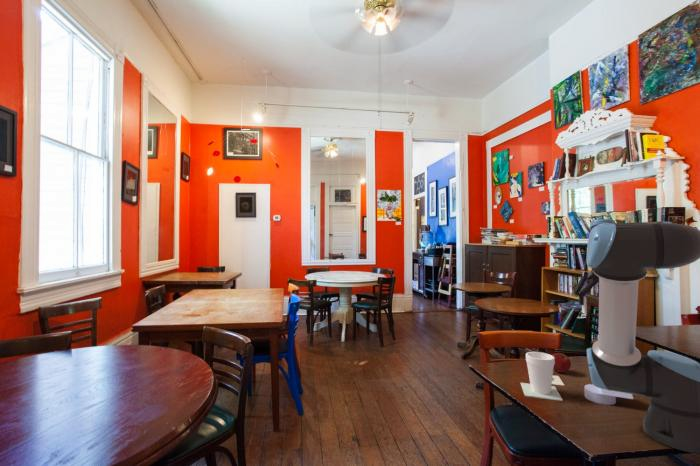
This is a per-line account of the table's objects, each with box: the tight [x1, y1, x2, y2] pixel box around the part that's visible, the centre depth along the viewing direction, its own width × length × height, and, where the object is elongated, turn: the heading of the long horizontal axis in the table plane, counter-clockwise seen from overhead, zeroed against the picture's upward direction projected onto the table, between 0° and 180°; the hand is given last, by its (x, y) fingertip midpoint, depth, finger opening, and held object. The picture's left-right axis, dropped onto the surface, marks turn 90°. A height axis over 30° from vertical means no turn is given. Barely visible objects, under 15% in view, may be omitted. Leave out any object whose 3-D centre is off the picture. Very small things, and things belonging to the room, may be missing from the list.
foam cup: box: [525, 351, 555, 394], centre depth 128 cm, size 10×9×13 cm
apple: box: [551, 352, 572, 374], centre depth 147 cm, size 8×8×8 cm
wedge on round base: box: [584, 383, 634, 406], centre depth 121 cm, size 9×7×13 cm
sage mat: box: [520, 382, 564, 402], centre depth 128 cm, size 12×12×1 cm
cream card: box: [552, 375, 565, 387], centre depth 139 cm, size 10×10×1 cm
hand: (604, 314), depth 131 cm, fingers open, 13 cm apart
